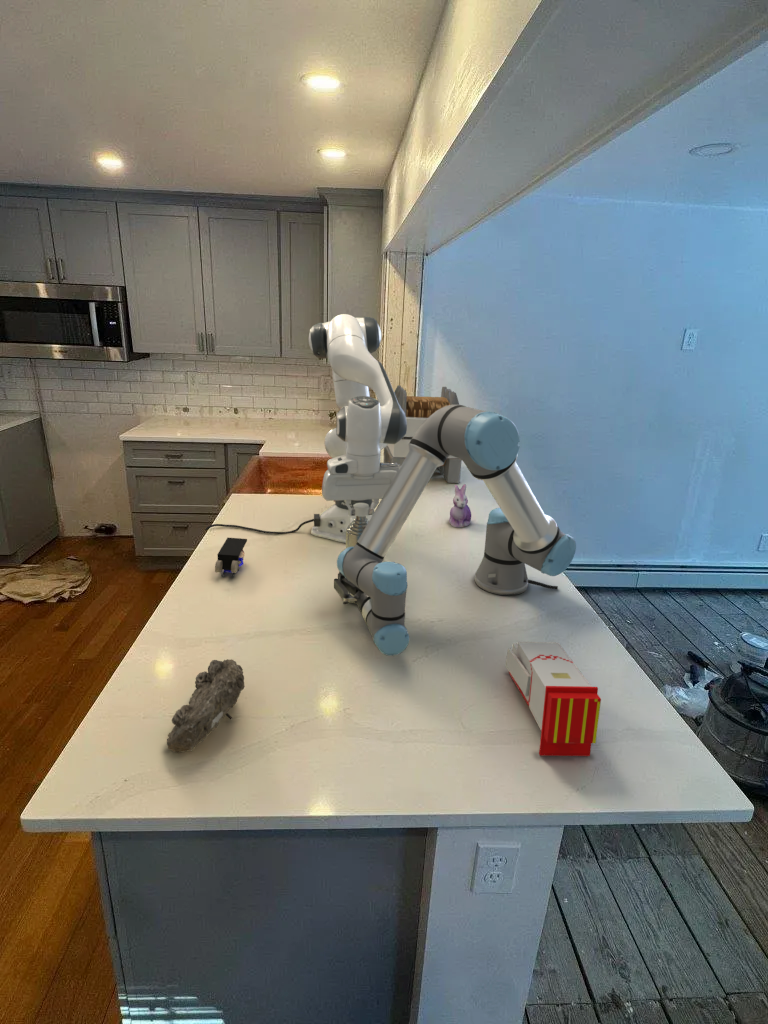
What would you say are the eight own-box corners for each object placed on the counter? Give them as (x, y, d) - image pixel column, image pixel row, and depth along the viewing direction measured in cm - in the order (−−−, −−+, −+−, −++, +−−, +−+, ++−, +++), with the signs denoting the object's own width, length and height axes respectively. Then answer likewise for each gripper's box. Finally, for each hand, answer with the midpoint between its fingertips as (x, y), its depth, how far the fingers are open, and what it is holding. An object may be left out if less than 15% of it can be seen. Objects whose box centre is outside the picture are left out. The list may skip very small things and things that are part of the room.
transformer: (382, 463, 289) (386, 382, 275) (445, 464, 293) (451, 384, 279) (390, 482, 257) (394, 392, 243) (460, 483, 261) (468, 394, 247)
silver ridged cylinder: (347, 605, 151) (349, 513, 142) (342, 591, 158) (344, 503, 149) (375, 602, 153) (379, 512, 144) (369, 589, 160) (372, 502, 151)
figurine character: (238, 584, 162) (249, 557, 175) (236, 562, 158) (247, 536, 172) (215, 584, 161) (227, 556, 175) (212, 561, 158) (225, 535, 171)
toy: (554, 624, 127) (610, 694, 97) (548, 679, 130) (602, 763, 100) (500, 623, 126) (541, 693, 97) (496, 678, 129) (534, 763, 100)
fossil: (192, 660, 117) (244, 628, 112) (224, 691, 120) (276, 661, 115) (142, 746, 98) (202, 712, 93) (182, 779, 101) (242, 748, 96)
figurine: (457, 529, 205) (460, 490, 200) (441, 520, 214) (444, 482, 209) (478, 526, 210) (482, 487, 205) (462, 517, 218) (465, 480, 213)
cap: (351, 512, 148) (351, 503, 147) (365, 510, 149) (365, 502, 148) (357, 517, 144) (357, 508, 144) (370, 515, 146) (371, 506, 145)
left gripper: (399, 459, 148) (396, 509, 152) (321, 460, 143) (320, 512, 147) (405, 465, 142) (402, 517, 147) (324, 467, 137) (324, 520, 142)
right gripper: (334, 627, 135) (318, 583, 156) (415, 618, 141) (390, 577, 161) (334, 599, 133) (318, 559, 153) (417, 591, 138) (391, 553, 159)
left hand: (361, 514), depth 147 cm, fingers closed on cap, 4 cm apart
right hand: (355, 568), depth 157 cm, fingers closed on silver ridged cylinder, 8 cm apart
